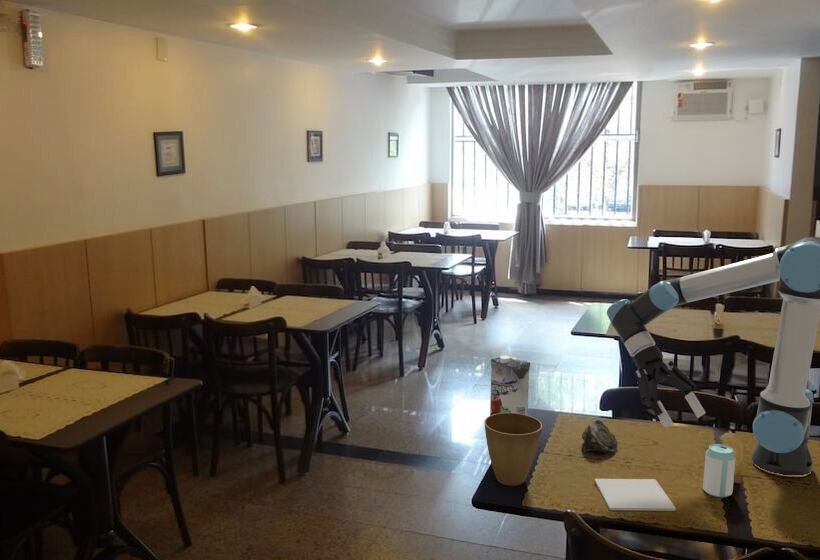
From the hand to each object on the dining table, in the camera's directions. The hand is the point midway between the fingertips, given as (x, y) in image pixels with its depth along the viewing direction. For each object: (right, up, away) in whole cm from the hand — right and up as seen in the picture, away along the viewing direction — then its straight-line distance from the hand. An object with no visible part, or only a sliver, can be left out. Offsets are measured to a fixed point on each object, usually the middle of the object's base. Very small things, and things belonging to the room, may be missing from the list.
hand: (685, 420), depth 200 cm
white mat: (-16, -18, -8) cm, 25 cm away
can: (+6, -18, -6) cm, 19 cm away
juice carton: (-44, -12, +24) cm, 51 cm away
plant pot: (-46, -16, 0) cm, 49 cm away
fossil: (-18, -13, +21) cm, 30 cm away
